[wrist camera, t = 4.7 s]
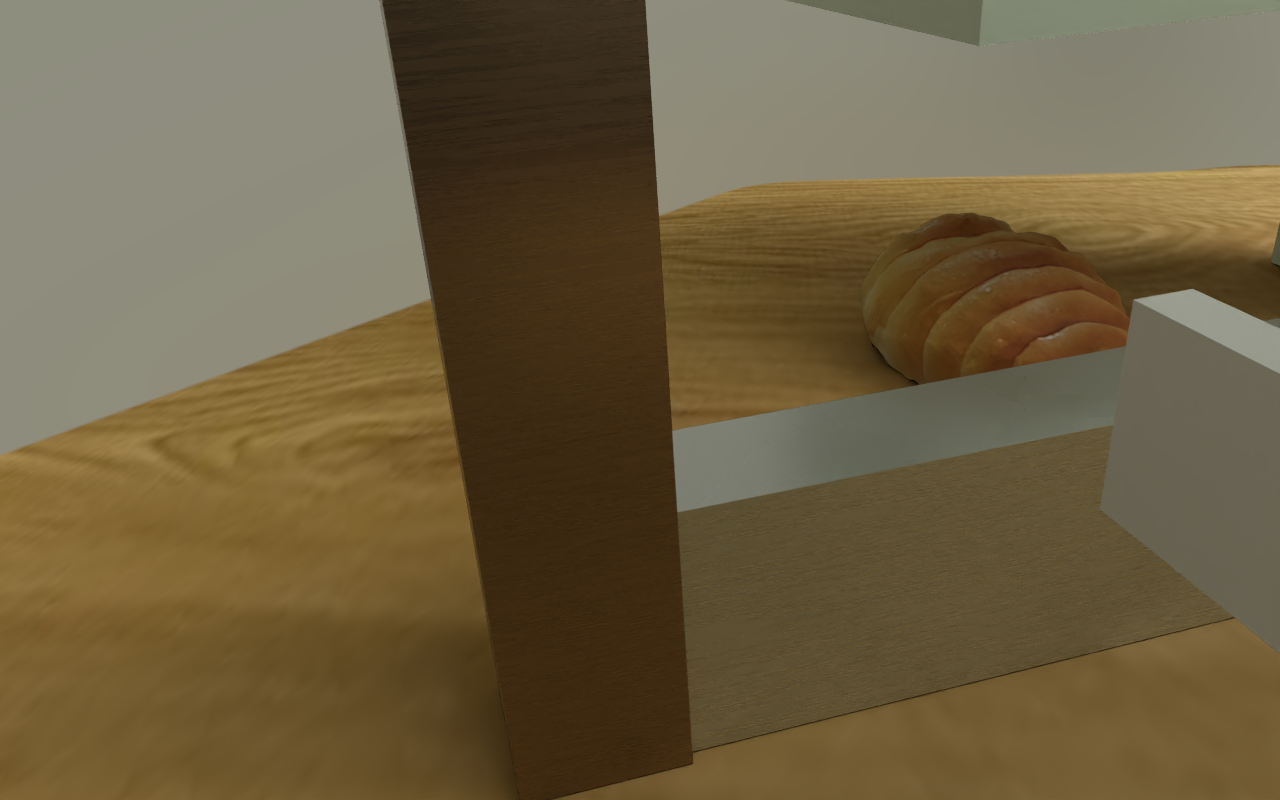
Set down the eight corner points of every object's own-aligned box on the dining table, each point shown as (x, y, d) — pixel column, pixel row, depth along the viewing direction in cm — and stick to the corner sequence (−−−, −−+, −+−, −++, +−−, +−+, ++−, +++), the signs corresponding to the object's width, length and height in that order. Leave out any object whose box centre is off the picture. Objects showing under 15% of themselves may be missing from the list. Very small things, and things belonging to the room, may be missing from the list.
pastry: (1214, 427, 27) (1243, 291, 25) (976, 472, 26) (988, 333, 24) (1022, 302, 35) (1033, 193, 33) (835, 333, 34) (836, 222, 32)
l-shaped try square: (1504, 457, 24) (1757, -234, 18) (1643, 525, 22) (1997, -256, 15) (498, 686, 20) (356, -132, 13) (521, 806, 17) (358, -138, 11)
